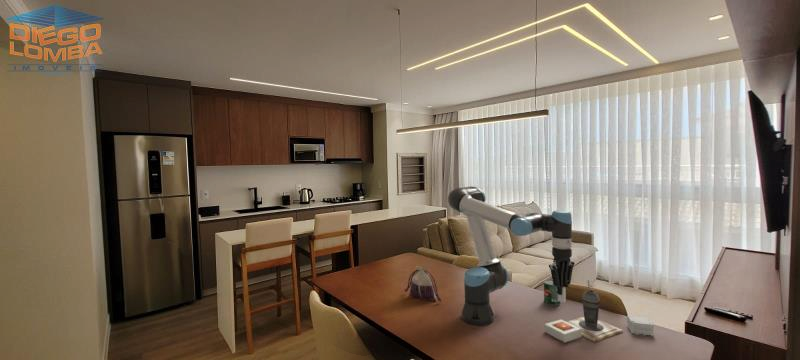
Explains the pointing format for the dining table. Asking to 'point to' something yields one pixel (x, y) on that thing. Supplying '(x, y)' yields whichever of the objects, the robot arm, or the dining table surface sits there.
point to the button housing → (563, 335)
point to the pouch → (422, 285)
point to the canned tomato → (550, 293)
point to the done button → (563, 326)
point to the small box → (640, 325)
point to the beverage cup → (590, 307)
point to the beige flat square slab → (595, 329)
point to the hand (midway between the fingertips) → (561, 301)
